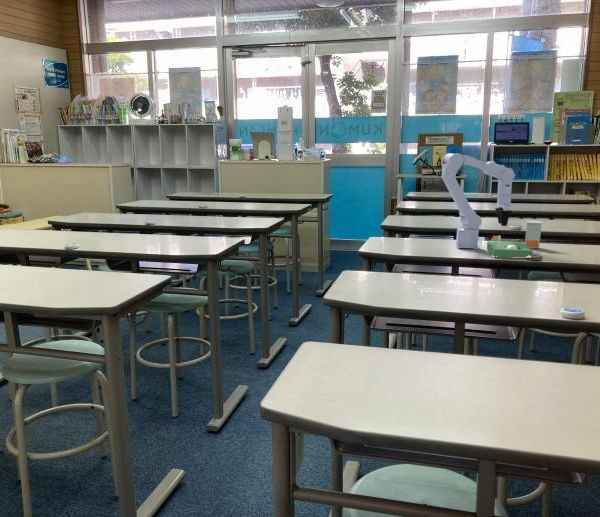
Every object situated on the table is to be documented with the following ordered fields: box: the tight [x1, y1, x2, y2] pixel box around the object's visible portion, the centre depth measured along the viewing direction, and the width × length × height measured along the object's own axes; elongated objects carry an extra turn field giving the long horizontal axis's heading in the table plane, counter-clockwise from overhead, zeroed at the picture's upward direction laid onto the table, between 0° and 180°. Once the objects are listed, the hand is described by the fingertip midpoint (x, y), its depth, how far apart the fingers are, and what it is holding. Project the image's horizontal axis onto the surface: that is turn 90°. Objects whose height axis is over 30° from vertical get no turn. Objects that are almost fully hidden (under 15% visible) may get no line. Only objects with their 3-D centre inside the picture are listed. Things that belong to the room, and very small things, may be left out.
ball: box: [506, 245, 518, 249], centre depth 227 cm, size 5×5×5 cm
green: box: [486, 235, 533, 257], centre depth 231 cm, size 16×20×9 cm
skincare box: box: [524, 220, 543, 249], centre depth 244 cm, size 6×4×12 cm
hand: (502, 224), depth 245 cm, fingers open, 7 cm apart
